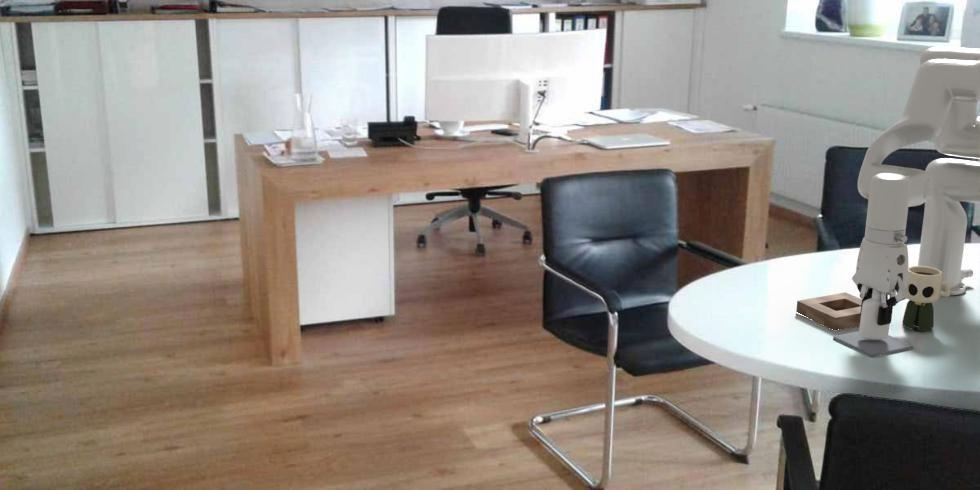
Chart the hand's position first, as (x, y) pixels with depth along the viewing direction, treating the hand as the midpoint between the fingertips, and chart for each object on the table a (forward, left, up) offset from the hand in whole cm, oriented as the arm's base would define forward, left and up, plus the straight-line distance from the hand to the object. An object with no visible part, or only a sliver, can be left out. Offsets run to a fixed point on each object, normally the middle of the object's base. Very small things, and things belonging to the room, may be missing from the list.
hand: (875, 319), depth 208 cm
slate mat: (0, 0, -5) cm, 5 cm away
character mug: (-15, -3, -5) cm, 17 cm away
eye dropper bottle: (0, 0, -4) cm, 4 cm away
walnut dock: (-5, -15, -5) cm, 17 cm away
